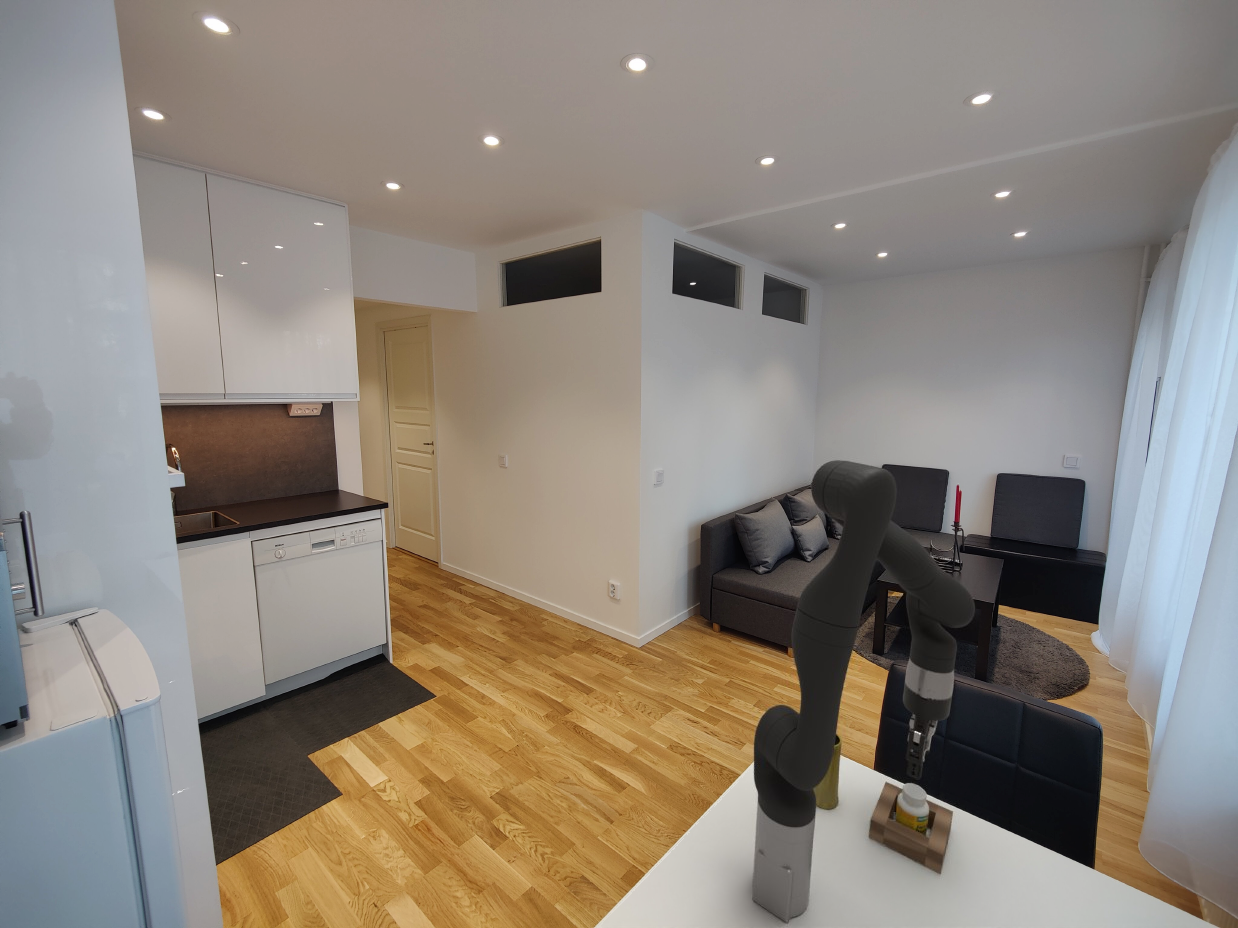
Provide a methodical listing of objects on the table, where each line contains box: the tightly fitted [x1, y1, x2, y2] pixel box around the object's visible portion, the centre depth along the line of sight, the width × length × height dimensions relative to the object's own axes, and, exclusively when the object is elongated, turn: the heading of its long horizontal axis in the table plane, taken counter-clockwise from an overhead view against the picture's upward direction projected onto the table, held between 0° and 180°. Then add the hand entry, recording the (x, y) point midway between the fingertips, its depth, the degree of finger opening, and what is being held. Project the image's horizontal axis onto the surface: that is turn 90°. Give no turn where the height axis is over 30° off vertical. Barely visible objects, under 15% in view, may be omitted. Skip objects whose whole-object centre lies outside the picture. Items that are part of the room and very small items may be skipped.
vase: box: [813, 732, 843, 810], centre depth 110 cm, size 6×6×14 cm
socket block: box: [868, 781, 954, 875], centre depth 102 cm, size 12×12×4 cm
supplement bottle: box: [894, 782, 929, 836], centre depth 102 cm, size 5×5×10 cm
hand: (918, 763), depth 100 cm, fingers open, 8 cm apart
